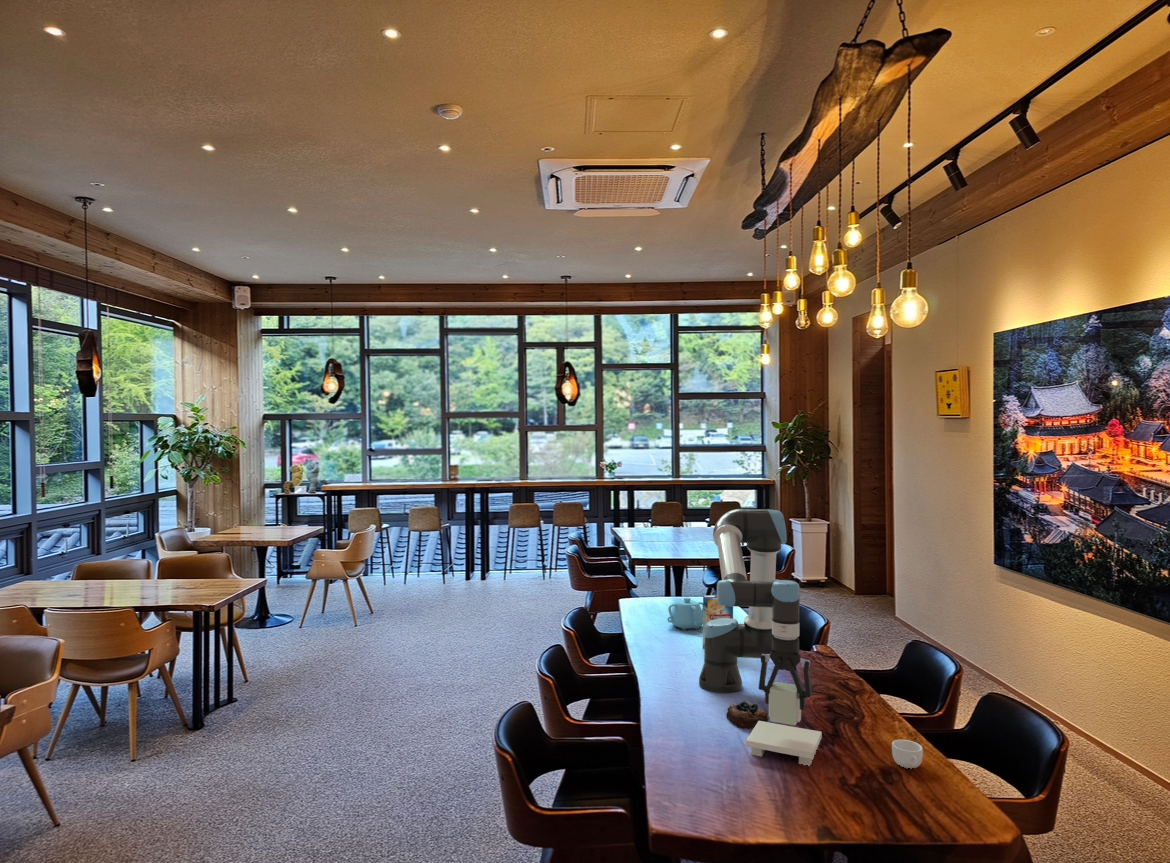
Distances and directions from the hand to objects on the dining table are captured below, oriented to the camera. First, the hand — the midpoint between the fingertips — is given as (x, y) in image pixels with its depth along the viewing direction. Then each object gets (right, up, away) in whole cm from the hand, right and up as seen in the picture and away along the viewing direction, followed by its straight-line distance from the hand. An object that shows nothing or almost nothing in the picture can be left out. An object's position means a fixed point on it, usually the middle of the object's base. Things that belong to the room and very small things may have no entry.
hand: (784, 717), depth 208 cm
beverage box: (-1, -10, +99) cm, 100 cm away
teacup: (+31, -10, -8) cm, 34 cm away
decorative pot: (-9, -11, +136) cm, 137 cm away
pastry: (-6, -10, +22) cm, 25 cm away
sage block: (0, 0, 0) cm, 0 cm away
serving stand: (0, -10, 0) cm, 10 cm away
